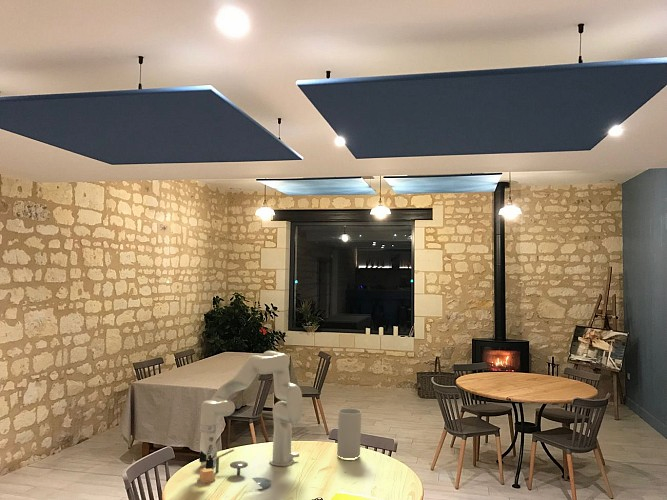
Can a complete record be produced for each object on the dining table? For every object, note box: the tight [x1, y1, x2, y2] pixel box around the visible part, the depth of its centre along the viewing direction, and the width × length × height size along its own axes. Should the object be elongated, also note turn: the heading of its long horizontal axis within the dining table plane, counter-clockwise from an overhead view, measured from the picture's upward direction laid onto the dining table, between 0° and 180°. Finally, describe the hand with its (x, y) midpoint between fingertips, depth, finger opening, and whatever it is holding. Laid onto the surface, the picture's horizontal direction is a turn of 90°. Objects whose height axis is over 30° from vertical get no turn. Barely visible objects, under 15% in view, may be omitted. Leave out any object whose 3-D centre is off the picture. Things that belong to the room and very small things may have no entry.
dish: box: [251, 476, 272, 491], centre depth 248 cm, size 12×12×1 cm
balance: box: [196, 448, 249, 485], centre depth 254 cm, size 24×14×11 cm, turn 122°
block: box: [198, 467, 214, 483], centre depth 247 cm, size 5×5×5 cm
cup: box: [200, 447, 218, 468], centre depth 266 cm, size 8×8×10 cm
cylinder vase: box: [336, 407, 362, 458], centre depth 291 cm, size 12×12×25 cm
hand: (205, 465), depth 247 cm, fingers open, 9 cm apart
